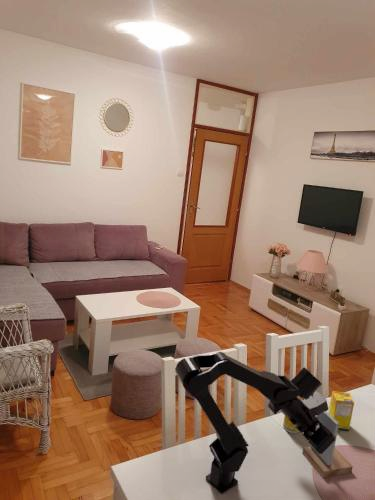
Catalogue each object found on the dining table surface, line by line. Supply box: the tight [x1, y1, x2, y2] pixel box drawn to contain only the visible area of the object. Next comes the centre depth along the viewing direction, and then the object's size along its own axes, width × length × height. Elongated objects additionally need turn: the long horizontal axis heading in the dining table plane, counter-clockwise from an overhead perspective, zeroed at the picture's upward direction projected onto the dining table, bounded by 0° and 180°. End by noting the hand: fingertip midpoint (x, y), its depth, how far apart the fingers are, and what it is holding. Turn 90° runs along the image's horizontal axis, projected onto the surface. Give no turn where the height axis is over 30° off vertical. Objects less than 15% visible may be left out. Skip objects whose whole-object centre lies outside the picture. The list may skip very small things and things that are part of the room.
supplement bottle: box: [282, 415, 300, 434], centre depth 131 cm, size 5×5×10 cm
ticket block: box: [302, 445, 353, 479], centre depth 117 cm, size 10×10×2 cm
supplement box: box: [328, 390, 355, 432], centre depth 135 cm, size 6×6×11 cm
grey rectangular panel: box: [310, 411, 339, 467], centre depth 115 cm, size 1×8×14 cm, turn 18°
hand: (320, 438), depth 114 cm, fingers closed
